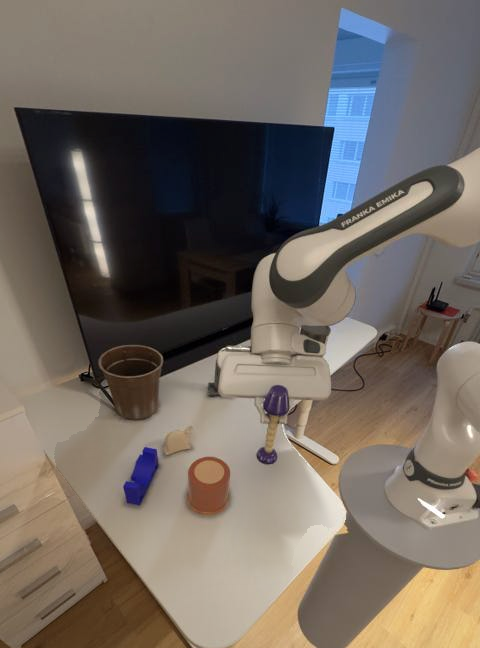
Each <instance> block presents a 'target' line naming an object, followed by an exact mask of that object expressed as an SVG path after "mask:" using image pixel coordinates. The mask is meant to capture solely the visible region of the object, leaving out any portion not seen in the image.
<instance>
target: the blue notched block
mask: <svg viewBox="0 0 480 648" xmlns="http://www.w3.org/2000/svg"><path fill="white" fill-rule="evenodd" d="M159 466H160V465H159V455H158V449H157V448H152V447H147V446H144V447H143V449H142V453H141V454H139V455H138V457H137V459H136V461H135V464H134V468H133V471H132V473H131V475H130V480H131V481H128V480H125V482H124V484H123V486H122V487H123V493H124V497H125V500H126V503H127V504H129V505H134V506H139V507H140V506H141V504H142V503H143V500H144V498H145V496H146V494H147V491H148V489H149V487H150V485H151V483H152V481H153V479H154V477H155V475H156V472H157V470H158V468H159Z"/></svg>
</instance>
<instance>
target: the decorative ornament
mask: <svg viewBox="0 0 480 648" xmlns="http://www.w3.org/2000/svg"><path fill="white" fill-rule="evenodd" d="M193 429H194V426H193V425H190V426H188V427H186V429H184V430H180V429H177V430H176V429H175V430H172V431H170V432H169V433H167V434H166V436H165V438H164V446H163V452H164V454H165V455H166V456H168V455H169V456H170V455H171V454H174V453H176V452H179V451H184V450H191V449H192V447H191V444H190V442H189V439H188V435H189V434H190V433H191V432H192V431H193Z"/></svg>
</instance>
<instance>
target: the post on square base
mask: <svg viewBox="0 0 480 648" xmlns="http://www.w3.org/2000/svg"><path fill="white" fill-rule="evenodd" d="M220 371H221V370H220V369H219V367H218V365H217V358H216V359H215V367H214V380H213V382H208V383H207V387H206V388H207V390H206V391H207V397H210V398H212V397H215V396H221V395H220V394H219V393H218V386H219V377H220Z"/></svg>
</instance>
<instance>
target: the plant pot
mask: <svg viewBox="0 0 480 648" xmlns="http://www.w3.org/2000/svg"><path fill="white" fill-rule="evenodd" d="M163 365H164V357H163V355H162V354H161V353H160V352H159V351H158V350H156V349H155V348H152V347H149V346H146V345H141V344H126V345H125V344H124V345H119V346H116V347H115V346H114V347H112V348H110V349H108V350H107V351H105V352H103V353H102V354H101V355H100V357H99V358H98V367H99V369H100V370H101V371H102V374H103V377H104V379H105V381H106V382H107V385H108V388H109V392H110V395H111V398H112V401H113V405H114V409H115V411H116V413H117V414H118V416H120V417H123V418H125V420H126V419H127V420H130V421H139V420H145V419H147V418H150V417H151V416H152V415H153V414H155V413H157V411H158V409H159V399H160V398H159V397H160V378H161V374H162V366H163Z"/></svg>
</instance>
